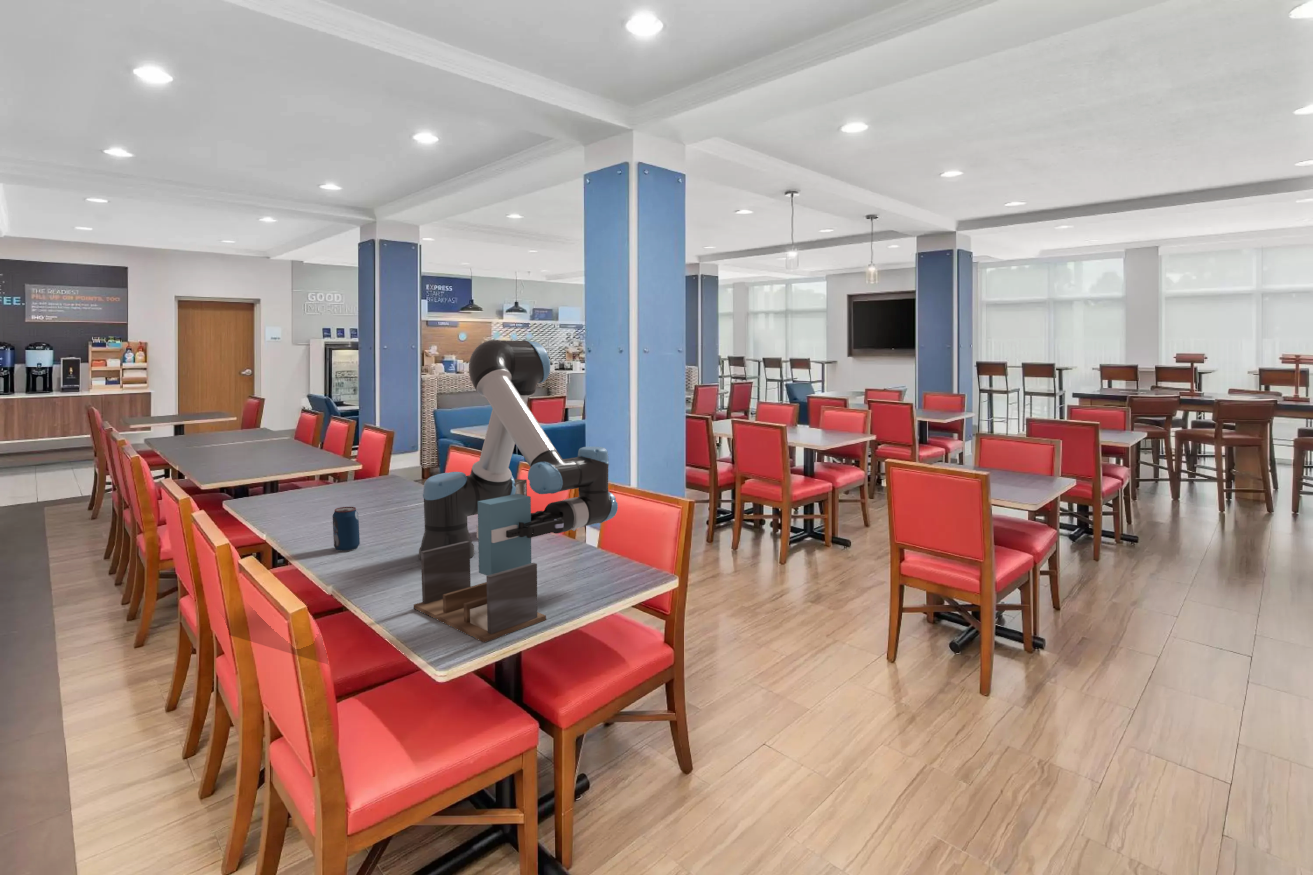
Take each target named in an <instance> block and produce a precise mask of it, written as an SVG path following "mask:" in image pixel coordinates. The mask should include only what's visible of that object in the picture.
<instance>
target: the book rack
mask: <svg viewBox="0 0 1313 875" xmlns="http://www.w3.org/2000/svg"><path fill="white" fill-rule="evenodd" d="M420 561H421V562H420V564H421V565H420V567H421V568H420V569H421V596H422V597H421V598H422V599H421V600H422V601H421V602H418V603H415V604H413V609H414V608H415V609H417V610H419V611H421V612H423V613H425V614H427V615H426V616H428V615H429V616H428V617H430V616H431V617H430V618H432V617H433V618H432V619H434V618H436V619H438V620H439V621H438V620H437V621H438V622H440V621H441V622H440V623H442V622H444V623H446V624H447V625H446V624H445V625H446V626H448V625H450V626H449V627H451V626H452V627H451V628H453V627H454V628H453V629H455V630H457V629H458V630H457V631H459V630H460V631H459V632H461V631H462V632H461V633H463V632H464V633H463V634H465V633H466V634H465V635H467V634H468V636H469V635H470V637H471V636H473V637H475V638H474V639H475V640H478V639H479V640H478V641H480V642H481V643H482V642H483V643H486V642H490V641H493V640H494V639H497V638H500V636H501V637H503V636H505V634H506V635H508V633H509V634H511V633H514V632H517V631H519V629H520V630H523V629H525V628H528V627H531V626H532V625H536V624H538V623H541V622H544V621H546V620H547V616H546V614H543V613H541V612H539V611H538V564H537V563H536V562H531V563H530V564H527V565H523V566H520V567H516V568H513V569H509V570H506V571H502V572H498V573H495V574H491V575H488V576H487V575H485V576H486V581H485V582H481V583H478V584H474V585H472V584H471V558H470V542H468V541H465V542H460V543H456V544H452V545H447V546H443V547H439V548H434V549H430V550H426V551H421V560H420ZM415 609H414V610H415ZM417 610H416V611H417ZM419 611H418V612H419ZM421 612H420V613H421ZM423 613H422V614H423ZM425 614H424V615H425ZM436 619H435V620H436ZM444 623H443V624H444ZM516 630H517V631H516ZM473 637H472V638H473Z"/></svg>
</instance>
